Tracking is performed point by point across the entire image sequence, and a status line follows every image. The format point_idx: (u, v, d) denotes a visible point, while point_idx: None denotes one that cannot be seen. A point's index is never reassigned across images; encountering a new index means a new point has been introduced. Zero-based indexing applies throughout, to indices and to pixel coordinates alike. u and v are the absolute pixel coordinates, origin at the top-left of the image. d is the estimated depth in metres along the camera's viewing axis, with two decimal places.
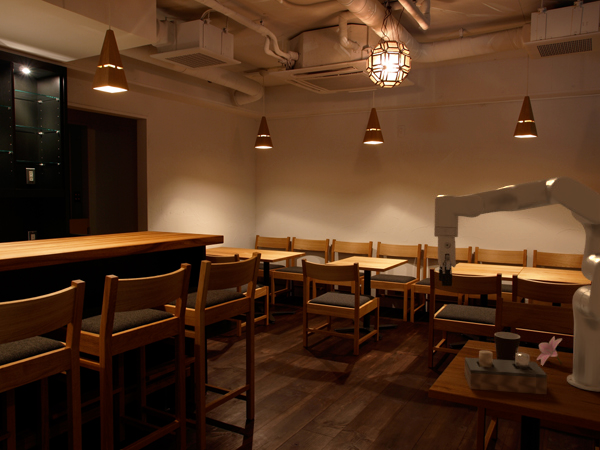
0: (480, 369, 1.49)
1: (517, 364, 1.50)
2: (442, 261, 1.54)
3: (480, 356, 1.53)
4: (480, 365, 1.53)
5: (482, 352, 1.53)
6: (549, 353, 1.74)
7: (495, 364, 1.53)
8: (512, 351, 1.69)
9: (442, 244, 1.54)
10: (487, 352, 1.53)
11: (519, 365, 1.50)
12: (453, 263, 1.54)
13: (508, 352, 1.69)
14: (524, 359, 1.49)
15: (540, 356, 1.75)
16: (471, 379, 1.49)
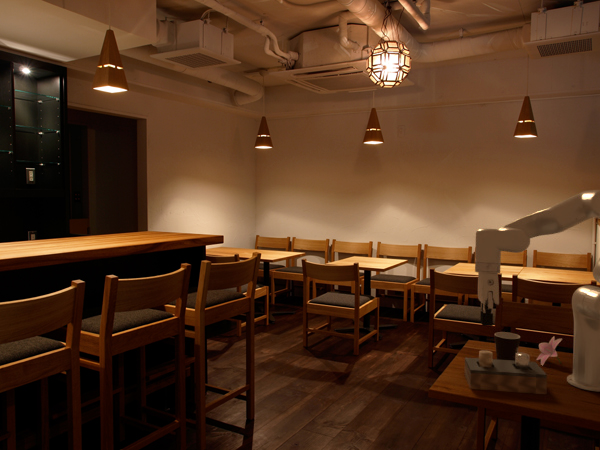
0: (480, 369, 1.49)
1: (517, 364, 1.50)
2: (484, 303, 1.49)
3: (480, 356, 1.53)
4: (480, 365, 1.53)
5: (482, 352, 1.53)
6: (549, 353, 1.73)
7: (495, 364, 1.53)
8: (512, 351, 1.69)
9: (485, 281, 1.48)
10: (487, 352, 1.53)
11: (519, 365, 1.50)
12: (497, 301, 1.47)
13: (508, 352, 1.69)
14: (524, 359, 1.49)
15: (540, 356, 1.75)
16: (471, 379, 1.49)
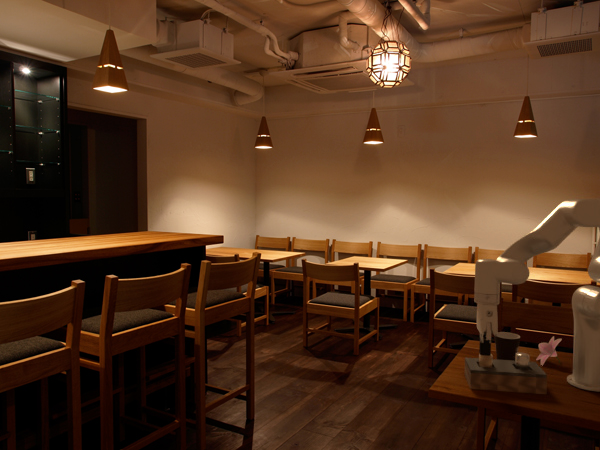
0: (480, 369, 1.49)
1: (517, 364, 1.50)
2: (482, 334, 1.50)
3: (480, 359, 1.53)
4: None
5: None
6: (549, 353, 1.73)
7: (495, 364, 1.53)
8: (512, 351, 1.69)
9: (483, 312, 1.48)
10: None
11: (519, 365, 1.50)
12: (495, 332, 1.47)
13: (508, 352, 1.69)
14: (524, 359, 1.49)
15: (540, 356, 1.75)
16: (471, 379, 1.49)
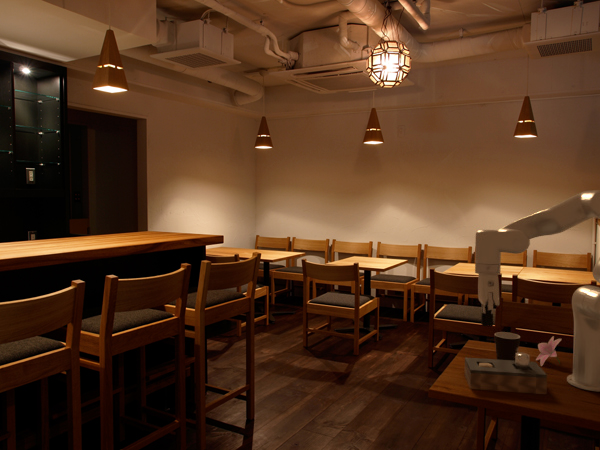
0: (480, 369, 1.49)
1: (517, 364, 1.50)
2: (484, 305, 1.49)
3: None
4: None
5: (482, 364, 1.53)
6: (548, 353, 1.73)
7: (495, 364, 1.53)
8: (512, 351, 1.69)
9: (485, 282, 1.48)
10: (487, 364, 1.53)
11: (519, 365, 1.50)
12: (497, 302, 1.47)
13: (508, 352, 1.69)
14: (524, 359, 1.49)
15: (539, 356, 1.75)
16: (471, 379, 1.49)
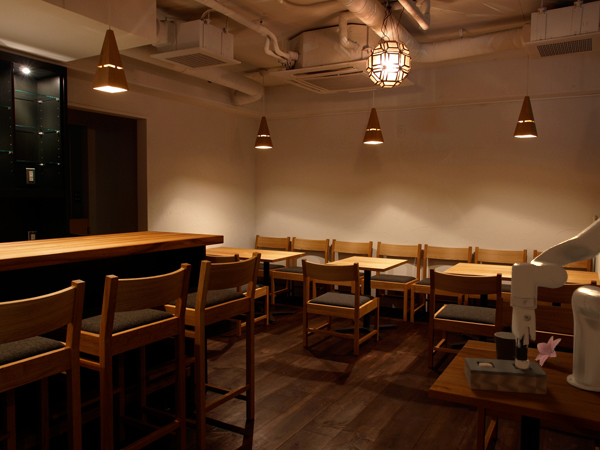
0: (480, 369, 1.49)
1: None
2: (519, 339, 1.48)
3: None
4: None
5: (482, 364, 1.53)
6: (548, 353, 1.73)
7: (495, 364, 1.53)
8: (512, 351, 1.69)
9: (521, 316, 1.46)
10: (487, 364, 1.53)
11: None
12: (533, 337, 1.45)
13: (508, 352, 1.69)
14: (524, 364, 1.49)
15: (539, 356, 1.75)
16: (471, 379, 1.49)
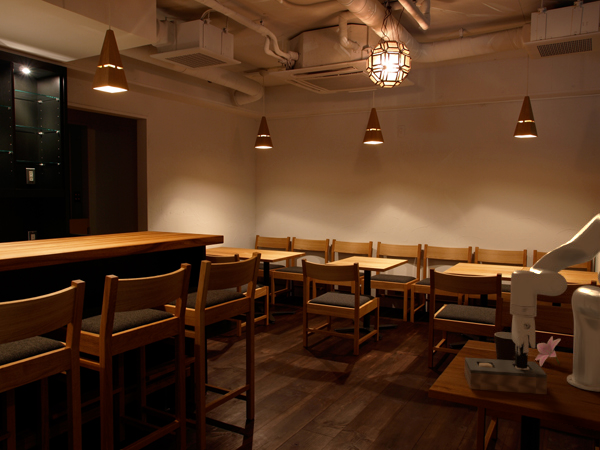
0: (480, 369, 1.49)
1: None
2: None
3: None
4: None
5: (482, 364, 1.53)
6: (547, 353, 1.73)
7: (495, 364, 1.53)
8: (512, 351, 1.69)
9: (521, 324, 1.46)
10: (487, 364, 1.53)
11: None
12: (533, 345, 1.45)
13: (508, 352, 1.69)
14: None
15: (538, 356, 1.75)
16: (471, 379, 1.49)
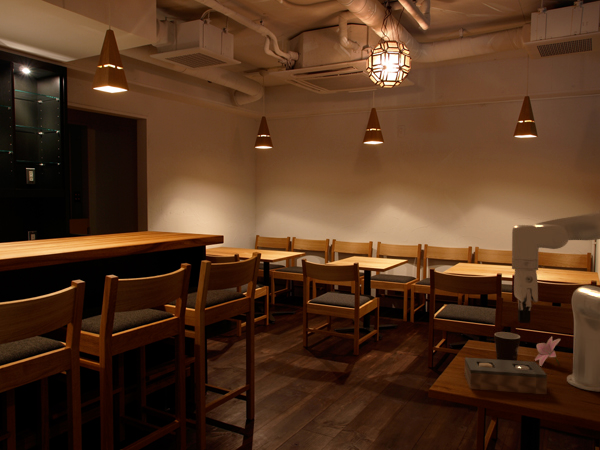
0: (480, 369, 1.49)
1: None
2: (522, 301, 1.47)
3: None
4: None
5: (482, 364, 1.53)
6: (547, 354, 1.73)
7: (495, 364, 1.53)
8: (512, 351, 1.69)
9: (523, 278, 1.46)
10: (487, 364, 1.53)
11: None
12: (536, 298, 1.45)
13: (508, 352, 1.69)
14: None
15: (538, 357, 1.75)
16: (471, 379, 1.49)
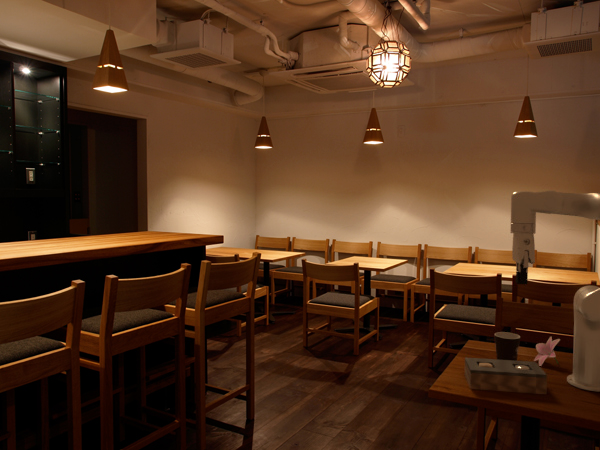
0: (480, 369, 1.49)
1: None
2: (519, 263, 1.55)
3: None
4: None
5: (482, 364, 1.53)
6: (546, 354, 1.73)
7: (495, 364, 1.53)
8: (512, 351, 1.69)
9: (521, 241, 1.54)
10: (487, 364, 1.53)
11: None
12: (533, 260, 1.53)
13: (508, 352, 1.69)
14: None
15: (537, 357, 1.74)
16: (471, 379, 1.49)
